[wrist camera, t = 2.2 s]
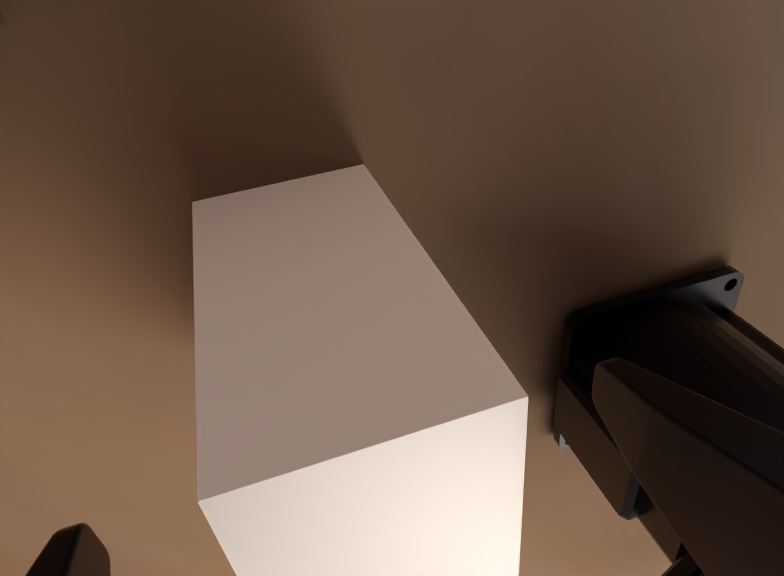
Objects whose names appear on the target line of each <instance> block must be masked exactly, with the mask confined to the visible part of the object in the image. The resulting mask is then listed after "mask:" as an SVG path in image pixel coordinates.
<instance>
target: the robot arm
mask: <svg viewBox="0 0 784 576" xmlns="http://www.w3.org/2000/svg"><path fill="white" fill-rule="evenodd" d="M743 279H744V276H743V274H742V273H741V272H739V271H738V270H736V269H735V268H733V267H731V266H725V267H722V268H718V269H715V270H712V271H708V272H705V273H701V274H698V275H694V276H691V277H688V278H684V279H681V280H677V281H674V282H670V283H667V284H664V285H660V286H657V287H653V288H650V289H646V290H643V291H639V292H636V293H633V294H629V295H626V296H622V297H619V298H615V299H612V300H609V301H605V302H602V303H598V304H595V305H591V306H588V307H584V308H581V309H578V310H576V311H574V312H573V313H572V314H571V315H570V316H569V317H568V318H567V320H566V323H565V328H564V338H563V348H562V358H561V368H560V374H559V376H558V382H557V393H556V403H555V413H554V426H555V428H554V439H555V441H556V442H557V444H558V445H559V447H560V448H562V449H570V448H571V449H572V451H573V452H574V454H575V455H576V456H577V458H578V459H579V461H580V462H581V463H582V465H583V466H584V468H585V469H586V470H587V472H588V473H589V475H590V476H591V477H592V479H593V480H594V482H595V483H596V484H597V486H598V487H599V489H600V490H601V491H602V493H603V494H604V495H605V497H606V498H607V500H608V501H609V502H610V504H611V505H612V507H613V508H614V509H615V511H616V512H617V514H618V515H619V516H621V517H623V518H625V519H627V520H631V519H634V518H638V519H639V520H640V522H641V523H642V524H643V526H644V527H645V528H646V530H647V531H648V532H649V534H650V535H651V536H652V538H653V539H654V540H655V542H656V543H657V544H658V546H659V547H660V548H661V550H662V551H663V552H664V554H665V555H666V557H667V558H668V559H669V561H670V562H671V563H672V565H671V566H670V567H669V568H668V569H667V570H666V571H665V572H664V573H663V574H662V575H661V576H784V349H783V348H782V347H780V346H779V345H778V344H776V343H775V342H774V341H772V340H771V339H769V338H768V337H767V336H765V335H764V334H763V333H761V332H760V331H758V330H757V329H756V328H754V327H753V326H752V325H750V324H749V323H747V322H746V321H745V320H743V319H742V318H741V317H739V316H738V315H736V314H735V313H734V312H733V311H734V308H735V305H736V302H737V299H738V296H739V293H740V290H741V287H742V284H743ZM25 576H111V574H110V558H109V554H108V551H107V549H106V548H105V546H104V545H103V544H102V542H101V541H100V540H99V538H98V537H97V536H96V534H95V533H94V532H93V530H92V529H91V528H90V527H89V526H88V525H87V524H85V523H79V524H76V525H72V526H69V527H66V528H63V529H60V530H58V531H57V532H56V533H55V534H53V536H52V537H51V538H50V540H49V541H48V543H47V544H46V546H45V547H44V549H43V550H42V552H41V553H40V555H39V556H38V557H37V559H36V560H35V562H34V563H33V565H32V566H31V568H30V569H29V571H28V572H27V574H26V575H25Z"/></svg>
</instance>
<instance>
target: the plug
mask: <svg viewBox="0 0 784 576" xmlns="http://www.w3.org/2000/svg"><path fill="white" fill-rule="evenodd" d="M192 222H193V277H194V333H195V388H196V443H197V499H198V504H199V505H200V507H201V509H202V511H203V513H204V515H205V517H206V519H207V521H208V522H209V524H210V526H211V528H212V530H213V532H214V534H215V536H216V538H217V539H218V541H219V543H220V545H221V547H222V549H223V551H224V553H225V555H226V557H227V558H228V560H229V562H230V564H231V566H232V568H233V570H234V572H235V574H236V575H237V576H519V558H520V540H521V522H522V504H523V485H524V467H525V449H526V431H527V413H528V395H527V394H526V392H525V391H524V389H523V388H522V387H521V385H520V384H519V382H518V381H517V379H516V378H515V377H514V375H513V374H512V372H511V371H510V370H509V368H508V367H507V365H506V364H505V363H504V361H503V360H502V358H501V357H500V356H499V354H498V353H497V351H496V350H495V348H494V347H493V346H492V344H491V343H490V341H489V340H488V339H487V337H486V336H485V334H484V333H483V332H482V330H481V329H480V327H479V326H478V325H477V323H476V322H475V320H474V319H473V317H472V316H471V315H470V313H469V312H468V310H467V309H466V308H465V306H464V305H463V303H462V302H461V301H460V299H459V298H458V296H457V295H456V294H455V292H454V291H453V289H452V288H451V286H450V285H449V284H448V282H447V281H446V279H445V278H444V277H443V275H442V274H441V272H440V271H439V270H438V268H437V267H436V265H435V264H434V263H433V261H432V260H431V258H430V257H429V255H428V254H427V253H426V251H425V250H424V248H423V247H422V246H421V244H420V243H419V241H418V240H417V239H416V237H415V236H414V234H413V233H412V232H411V230H410V229H409V227H408V226H407V224H406V223H405V222H404V220H403V219H402V217H401V216H400V215H399V213H398V212H397V210H396V209H395V208H394V206H393V205H392V203H391V202H390V201H389V199H388V198H387V196H386V195H385V193H384V192H383V191H382V189H381V188H380V186H379V185H378V184H377V182H376V181H375V179H374V178H373V177H372V175H371V174H370V172H369V171H368V169H367V168H366V167H365V165H364V164H361V165H357V166H352V167H348V168H343V169H339V170H334V171H330V172H325V173H321V174H316V175H312V176H307V177H303V178H298V179H294V180H289V181H285V182H280V183H276V184H271V185H266V186H262V187H257V188H253V189H248V190H244V191H239V192H235V193H230V194H226V195H221V196H217V197H212V198H208V199H203V200H199V201H194V202H192Z"/></svg>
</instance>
